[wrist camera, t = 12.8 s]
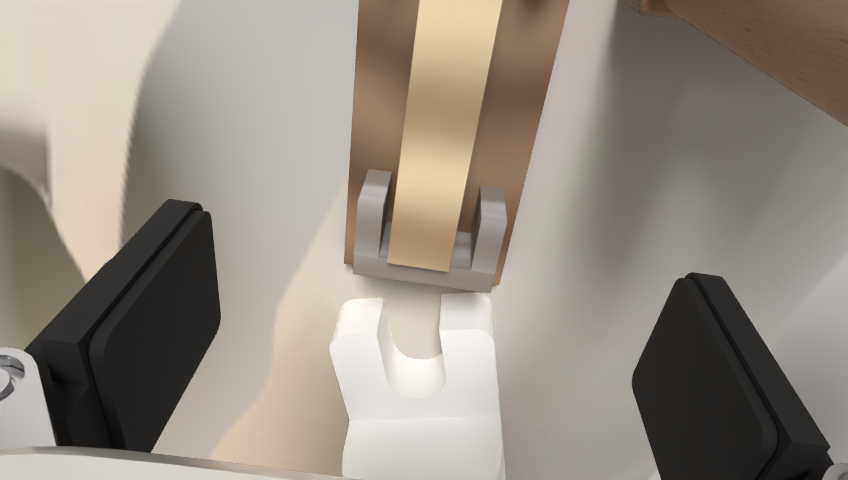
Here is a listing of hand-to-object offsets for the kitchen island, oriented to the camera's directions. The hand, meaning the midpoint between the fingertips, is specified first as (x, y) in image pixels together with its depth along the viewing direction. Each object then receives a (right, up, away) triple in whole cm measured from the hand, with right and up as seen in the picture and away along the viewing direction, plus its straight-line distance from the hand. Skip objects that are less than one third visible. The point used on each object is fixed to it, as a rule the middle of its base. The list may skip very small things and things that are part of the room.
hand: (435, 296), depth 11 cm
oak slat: (+1, +9, +15) cm, 17 cm away
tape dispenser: (0, -10, +28) cm, 30 cm away
